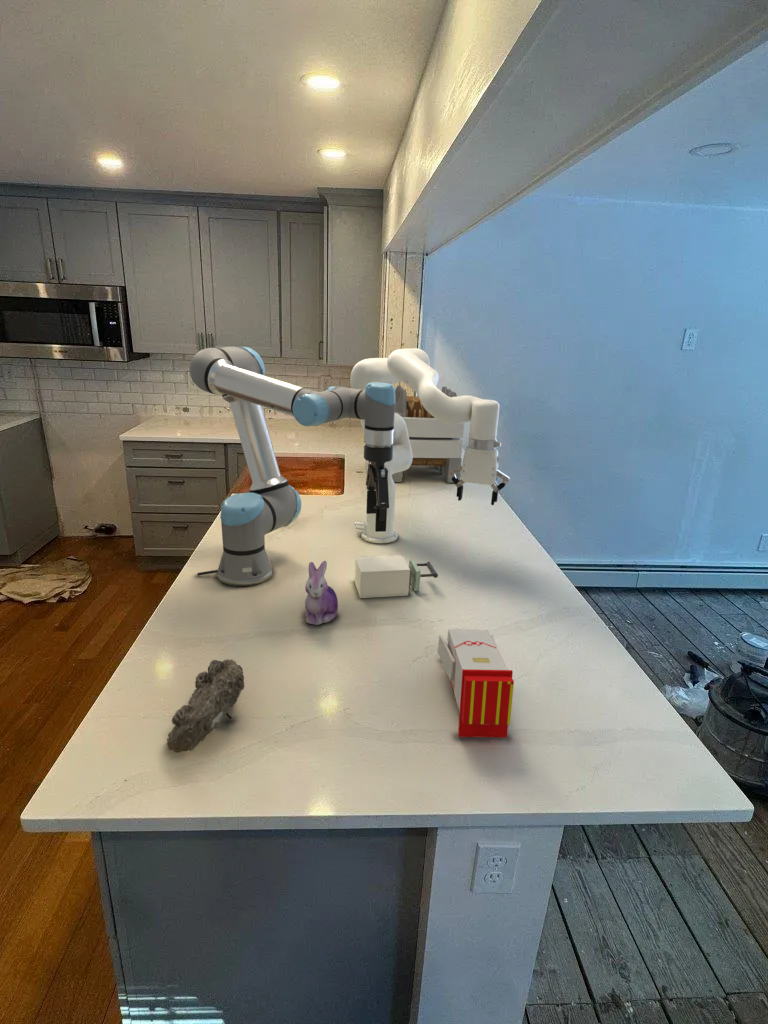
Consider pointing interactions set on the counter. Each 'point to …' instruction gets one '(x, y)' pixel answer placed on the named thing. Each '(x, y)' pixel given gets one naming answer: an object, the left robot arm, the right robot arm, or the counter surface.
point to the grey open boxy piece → (429, 436)
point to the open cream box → (382, 576)
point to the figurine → (319, 597)
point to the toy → (478, 682)
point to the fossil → (206, 705)
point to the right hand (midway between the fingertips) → (476, 501)
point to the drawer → (416, 572)
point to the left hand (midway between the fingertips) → (375, 521)
